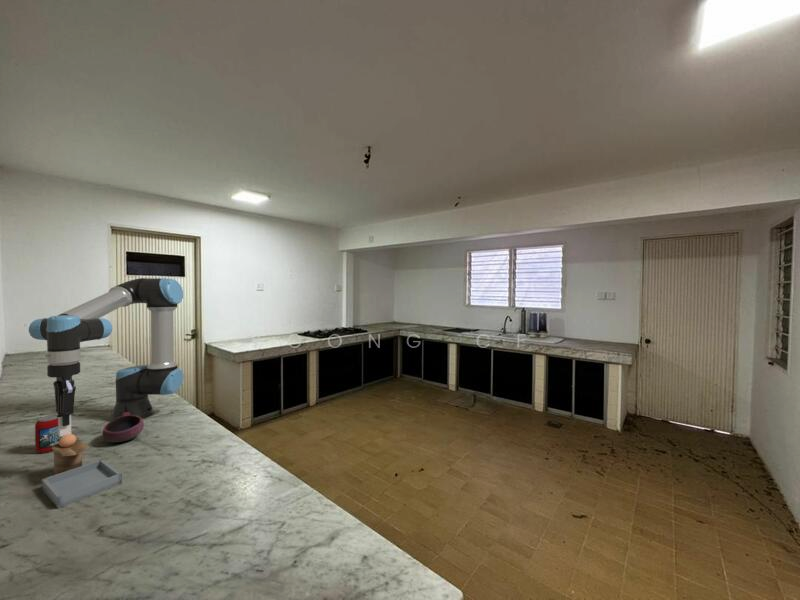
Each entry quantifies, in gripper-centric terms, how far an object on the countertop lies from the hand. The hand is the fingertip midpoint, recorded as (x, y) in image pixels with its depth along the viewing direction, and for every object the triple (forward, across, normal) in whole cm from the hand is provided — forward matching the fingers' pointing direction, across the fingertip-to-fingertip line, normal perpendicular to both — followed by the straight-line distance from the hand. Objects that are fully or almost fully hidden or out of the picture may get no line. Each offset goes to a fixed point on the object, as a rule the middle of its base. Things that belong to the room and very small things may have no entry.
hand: (64, 434), depth 108 cm
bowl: (+12, -14, +19) cm, 26 cm away
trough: (+12, +5, 0) cm, 13 cm away
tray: (+12, +16, 0) cm, 20 cm away
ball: (+2, +2, 0) cm, 3 cm away
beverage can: (+12, -24, +1) cm, 27 cm away
